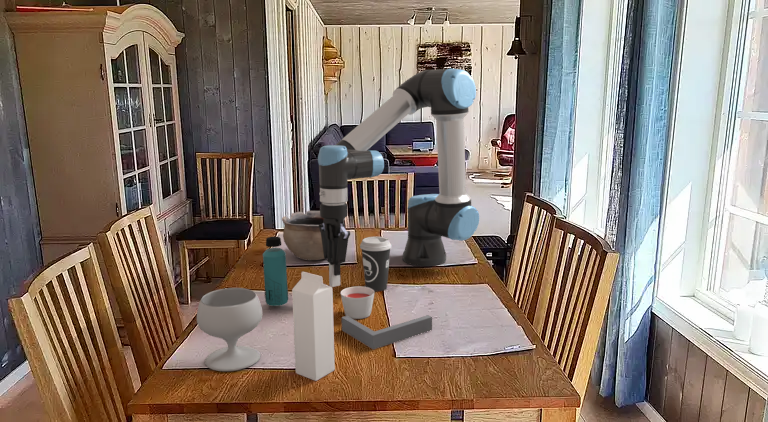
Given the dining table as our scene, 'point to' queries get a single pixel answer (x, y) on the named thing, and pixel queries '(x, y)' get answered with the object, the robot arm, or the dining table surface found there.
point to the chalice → (230, 326)
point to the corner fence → (385, 331)
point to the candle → (357, 301)
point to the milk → (313, 327)
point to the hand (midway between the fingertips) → (334, 285)
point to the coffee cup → (376, 262)
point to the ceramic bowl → (304, 235)
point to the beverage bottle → (275, 273)
